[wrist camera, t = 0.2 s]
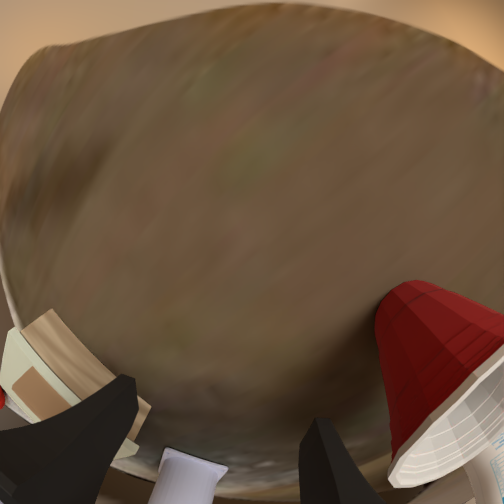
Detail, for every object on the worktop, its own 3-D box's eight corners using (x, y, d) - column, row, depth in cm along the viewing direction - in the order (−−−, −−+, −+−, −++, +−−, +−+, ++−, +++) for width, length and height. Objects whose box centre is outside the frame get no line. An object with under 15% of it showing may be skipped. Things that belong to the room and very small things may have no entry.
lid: (15, 326, 16) (-14, 348, 12) (139, 446, 18) (124, 478, 14) (3, 379, 19) (-14, 395, 16) (88, 461, 21) (76, 481, 18)
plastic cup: (438, 364, 19) (494, 458, 7) (331, 371, 20) (354, 505, 8) (476, 250, 16) (583, 316, 4) (358, 238, 17) (468, 344, 5)
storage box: (51, 308, 21) (20, 331, 16) (151, 406, 23) (133, 441, 18) (28, 360, 24) (7, 379, 20) (102, 432, 26) (87, 456, 22)
